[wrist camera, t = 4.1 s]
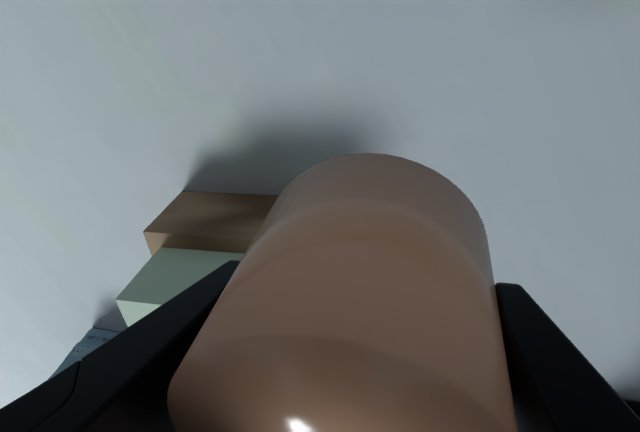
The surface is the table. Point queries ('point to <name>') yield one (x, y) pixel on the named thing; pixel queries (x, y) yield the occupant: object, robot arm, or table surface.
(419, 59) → the table surface
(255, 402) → the pink domed cylinder
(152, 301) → the top block
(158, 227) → the base block
